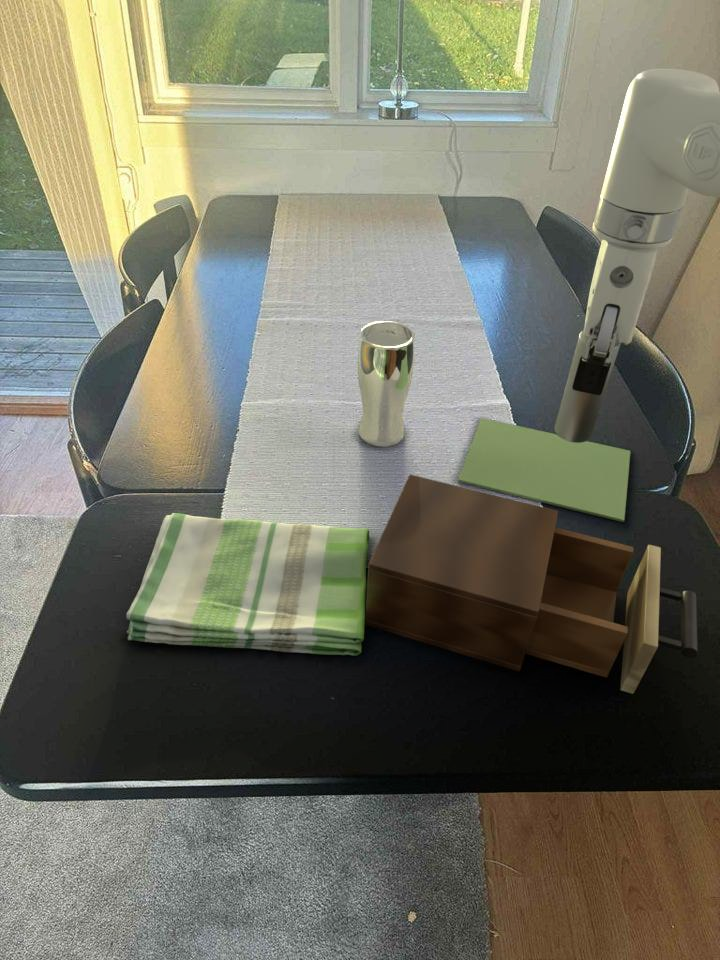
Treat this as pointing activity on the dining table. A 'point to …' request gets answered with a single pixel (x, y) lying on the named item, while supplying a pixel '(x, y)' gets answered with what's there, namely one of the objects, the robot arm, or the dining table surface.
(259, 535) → the dish towel
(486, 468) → the placemat
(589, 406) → the silver metal cylinder
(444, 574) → the cabinet
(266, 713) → the dining table surface
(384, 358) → the beer glass
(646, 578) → the drawer
